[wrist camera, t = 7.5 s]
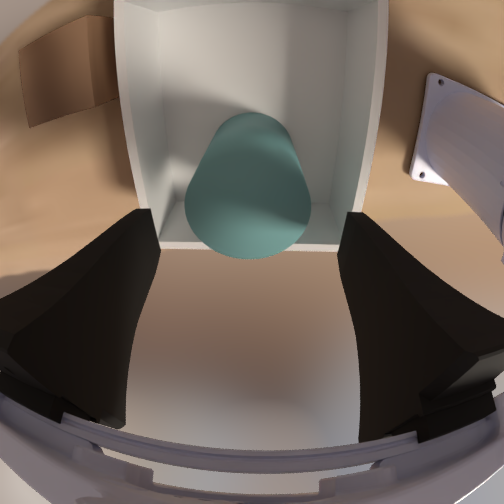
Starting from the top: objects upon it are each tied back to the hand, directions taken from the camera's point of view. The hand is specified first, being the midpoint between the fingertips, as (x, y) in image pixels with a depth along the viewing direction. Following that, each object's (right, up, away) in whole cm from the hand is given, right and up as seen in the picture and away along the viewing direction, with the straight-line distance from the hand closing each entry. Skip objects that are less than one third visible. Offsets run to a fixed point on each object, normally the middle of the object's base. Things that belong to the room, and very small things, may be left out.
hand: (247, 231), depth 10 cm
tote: (0, +8, +5) cm, 9 cm away
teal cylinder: (0, +5, +6) cm, 8 cm away
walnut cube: (-10, +11, +2) cm, 15 cm away
